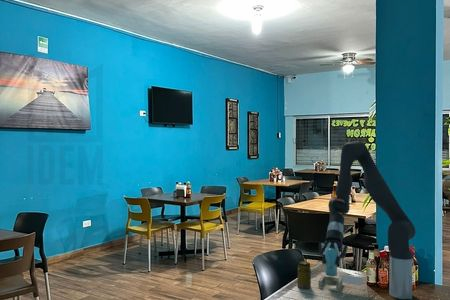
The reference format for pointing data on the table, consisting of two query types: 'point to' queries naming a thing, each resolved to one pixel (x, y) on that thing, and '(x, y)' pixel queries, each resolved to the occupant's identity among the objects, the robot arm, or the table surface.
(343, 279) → the mat
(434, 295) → the table surface
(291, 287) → the table surface
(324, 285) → the holder
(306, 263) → the condiment
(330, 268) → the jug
